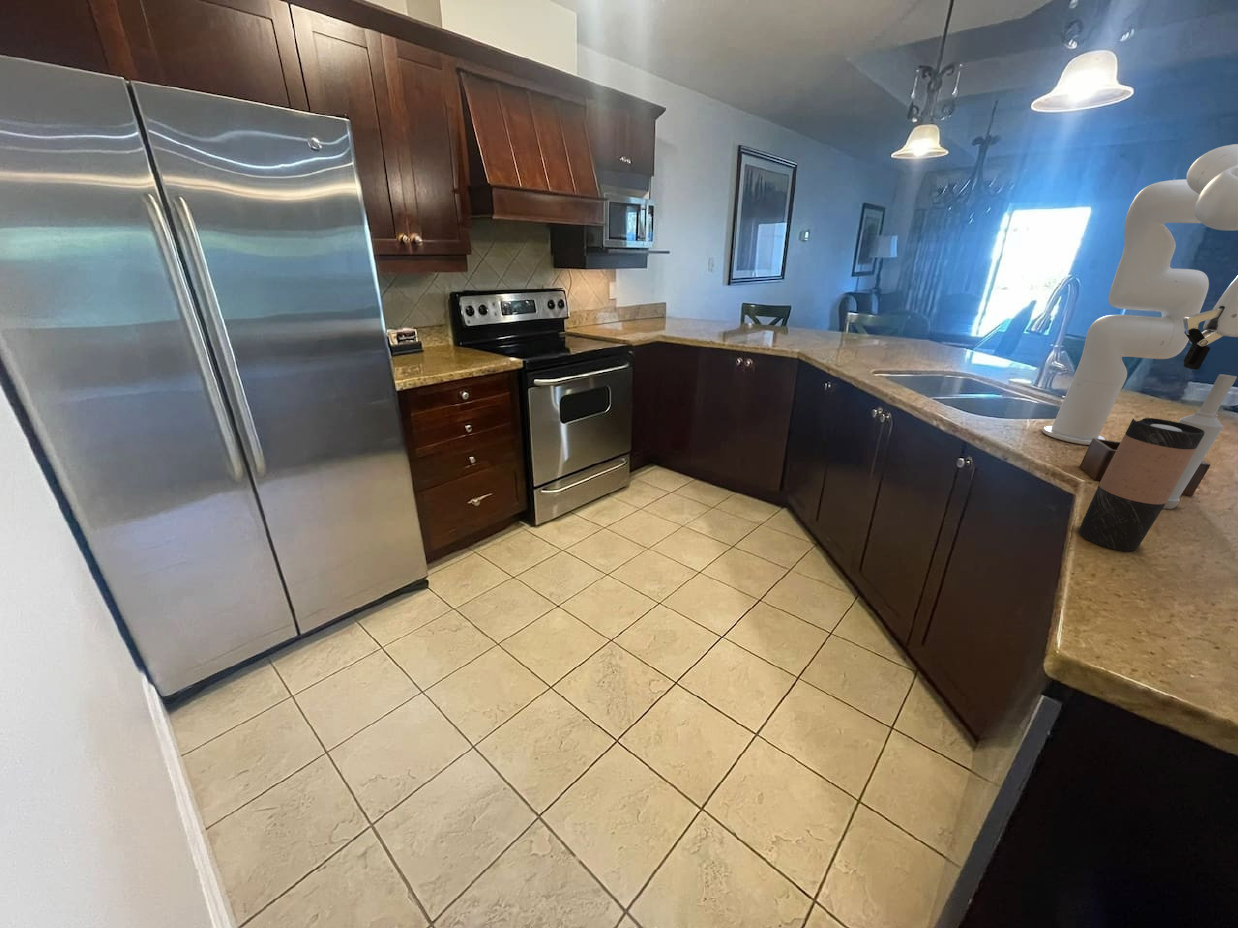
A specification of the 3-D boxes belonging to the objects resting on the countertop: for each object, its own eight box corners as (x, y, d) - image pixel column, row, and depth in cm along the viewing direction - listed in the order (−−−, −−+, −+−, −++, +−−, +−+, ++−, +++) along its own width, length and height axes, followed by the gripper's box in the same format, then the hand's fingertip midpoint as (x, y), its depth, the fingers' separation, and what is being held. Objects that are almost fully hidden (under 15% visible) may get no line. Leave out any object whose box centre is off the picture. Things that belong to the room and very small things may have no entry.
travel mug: (1146, 558, 73) (1217, 437, 65) (1081, 542, 77) (1141, 426, 69) (1130, 536, 79) (1193, 423, 71) (1071, 522, 83) (1124, 413, 75)
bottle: (1183, 511, 89) (1261, 380, 79) (1151, 507, 90) (1224, 377, 80) (1160, 498, 93) (1231, 373, 83) (1130, 495, 94) (1196, 371, 84)
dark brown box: (1079, 466, 107) (1092, 438, 105) (1169, 481, 102) (1186, 451, 99) (1094, 480, 101) (1109, 449, 98) (1192, 496, 95) (1210, 464, 92)
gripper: (1350, 266, 74) (1283, 373, 81) (1201, 262, 81) (1150, 361, 88) (1395, 267, 68) (1318, 383, 75) (1229, 262, 74) (1173, 369, 82)
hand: (1228, 371), depth 82 cm, fingers open, 9 cm apart
